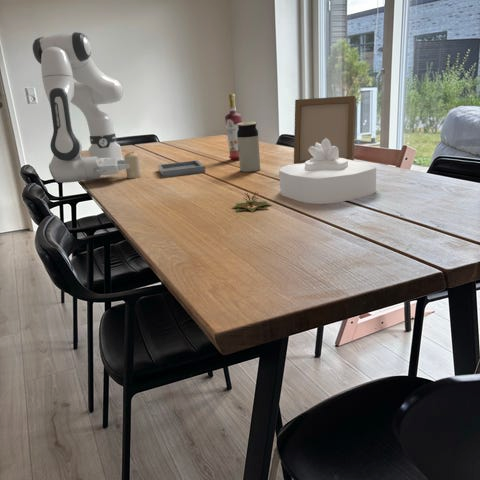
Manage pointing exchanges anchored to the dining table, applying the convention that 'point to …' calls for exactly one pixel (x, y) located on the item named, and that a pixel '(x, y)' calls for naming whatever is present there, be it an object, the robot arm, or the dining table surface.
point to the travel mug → (248, 147)
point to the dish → (181, 168)
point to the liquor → (233, 128)
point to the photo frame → (324, 125)
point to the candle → (132, 165)
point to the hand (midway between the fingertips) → (129, 163)
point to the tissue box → (327, 177)
